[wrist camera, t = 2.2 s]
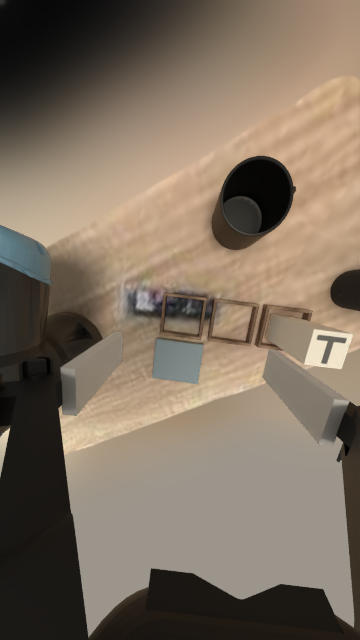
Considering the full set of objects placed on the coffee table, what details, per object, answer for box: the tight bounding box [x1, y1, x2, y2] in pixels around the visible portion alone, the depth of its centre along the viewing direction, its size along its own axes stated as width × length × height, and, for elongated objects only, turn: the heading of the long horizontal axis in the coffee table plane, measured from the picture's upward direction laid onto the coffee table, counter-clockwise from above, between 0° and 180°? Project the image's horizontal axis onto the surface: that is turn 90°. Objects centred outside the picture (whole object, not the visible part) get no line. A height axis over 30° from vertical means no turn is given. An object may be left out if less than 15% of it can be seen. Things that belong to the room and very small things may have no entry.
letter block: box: [265, 314, 353, 369], centre depth 28 cm, size 5×5×12 cm
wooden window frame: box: [208, 299, 259, 346], centre depth 34 cm, size 8×8×2 cm
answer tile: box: [152, 338, 204, 384], centre depth 36 cm, size 10×9×1 cm
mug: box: [212, 156, 296, 250], centre depth 26 cm, size 9×12×9 cm
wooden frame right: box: [255, 305, 313, 351], centre depth 33 cm, size 8×8×2 cm
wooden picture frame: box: [160, 293, 207, 340], centre depth 34 cm, size 8×8×2 cm
